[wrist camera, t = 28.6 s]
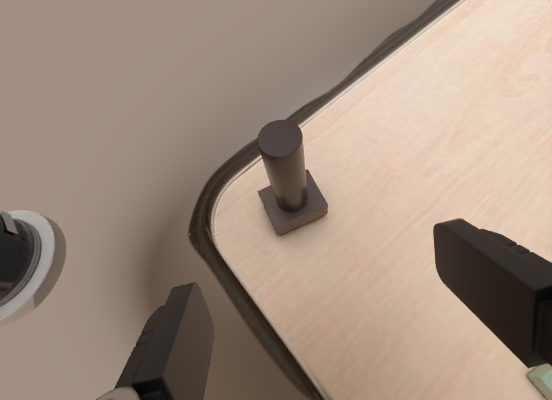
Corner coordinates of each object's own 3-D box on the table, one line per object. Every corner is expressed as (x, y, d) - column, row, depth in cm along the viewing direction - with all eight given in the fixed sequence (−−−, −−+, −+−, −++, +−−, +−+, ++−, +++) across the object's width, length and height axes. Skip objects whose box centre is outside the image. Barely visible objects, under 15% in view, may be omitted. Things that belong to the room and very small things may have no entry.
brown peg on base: (278, 238, 28) (254, 179, 18) (262, 203, 30) (231, 130, 19) (327, 216, 28) (331, 145, 18) (308, 183, 30) (302, 100, 20)
